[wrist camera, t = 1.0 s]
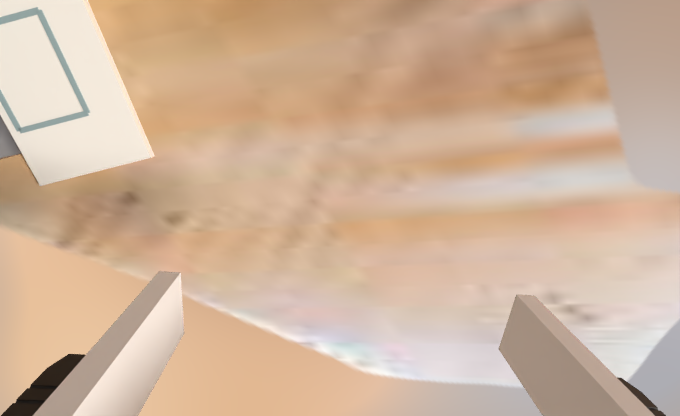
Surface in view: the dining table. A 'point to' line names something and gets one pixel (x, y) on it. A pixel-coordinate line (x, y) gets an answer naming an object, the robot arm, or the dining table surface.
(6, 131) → the button housing
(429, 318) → the dining table surface
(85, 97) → the sheet
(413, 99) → the dining table surface
